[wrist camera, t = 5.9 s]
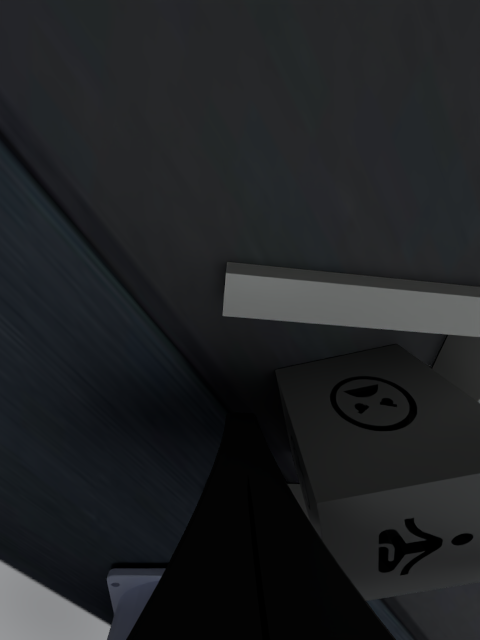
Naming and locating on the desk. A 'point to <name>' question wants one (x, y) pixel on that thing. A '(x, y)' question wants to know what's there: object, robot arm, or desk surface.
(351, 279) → the grey angular bar shape
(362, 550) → the dice cube
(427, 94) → the desk surface
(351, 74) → the desk surface
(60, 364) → the desk surface
